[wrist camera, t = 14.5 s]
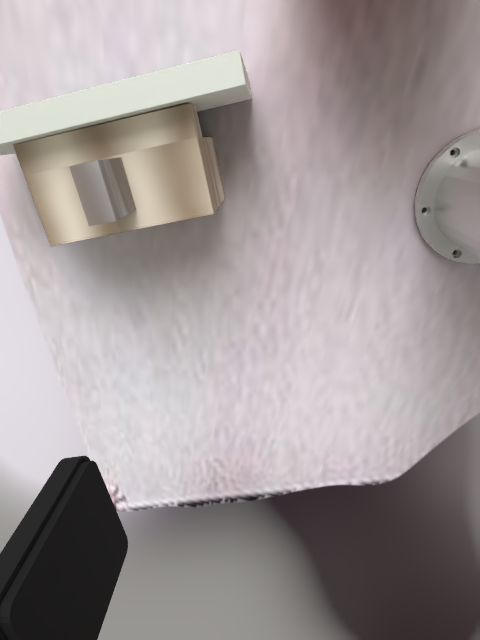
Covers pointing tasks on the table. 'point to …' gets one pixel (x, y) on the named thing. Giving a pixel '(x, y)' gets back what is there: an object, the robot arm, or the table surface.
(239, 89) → the wall board
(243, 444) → the table surface
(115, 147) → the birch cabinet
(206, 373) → the table surface
